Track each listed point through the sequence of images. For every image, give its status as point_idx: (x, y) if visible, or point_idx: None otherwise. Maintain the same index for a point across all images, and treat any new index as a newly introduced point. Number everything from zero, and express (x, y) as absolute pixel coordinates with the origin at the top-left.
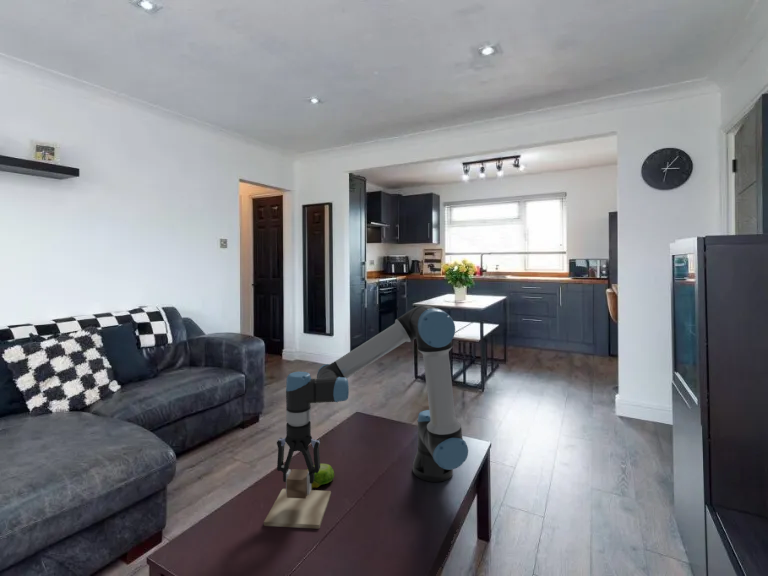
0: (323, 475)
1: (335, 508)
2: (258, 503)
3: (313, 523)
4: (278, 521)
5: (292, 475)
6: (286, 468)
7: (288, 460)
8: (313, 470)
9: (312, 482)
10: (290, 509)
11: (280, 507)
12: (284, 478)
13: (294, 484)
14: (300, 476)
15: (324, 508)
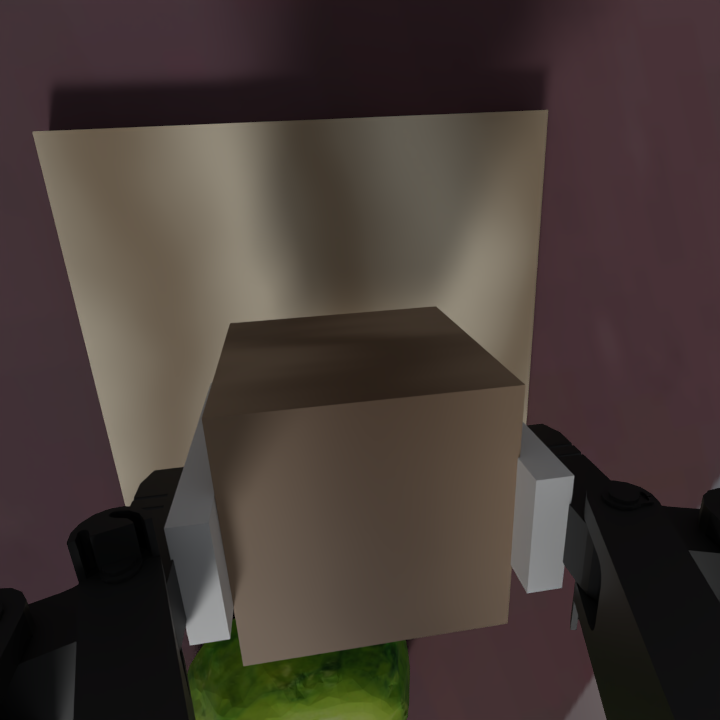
0: (239, 688)
1: (33, 408)
2: (638, 357)
3: (99, 144)
4: (428, 130)
5: (462, 492)
6: (622, 542)
7: (714, 715)
8: (73, 625)
9: (154, 477)
10: (381, 301)
11: (468, 310)
12: (556, 448)
13: (380, 368)
14: (329, 495)
15: (95, 361)
